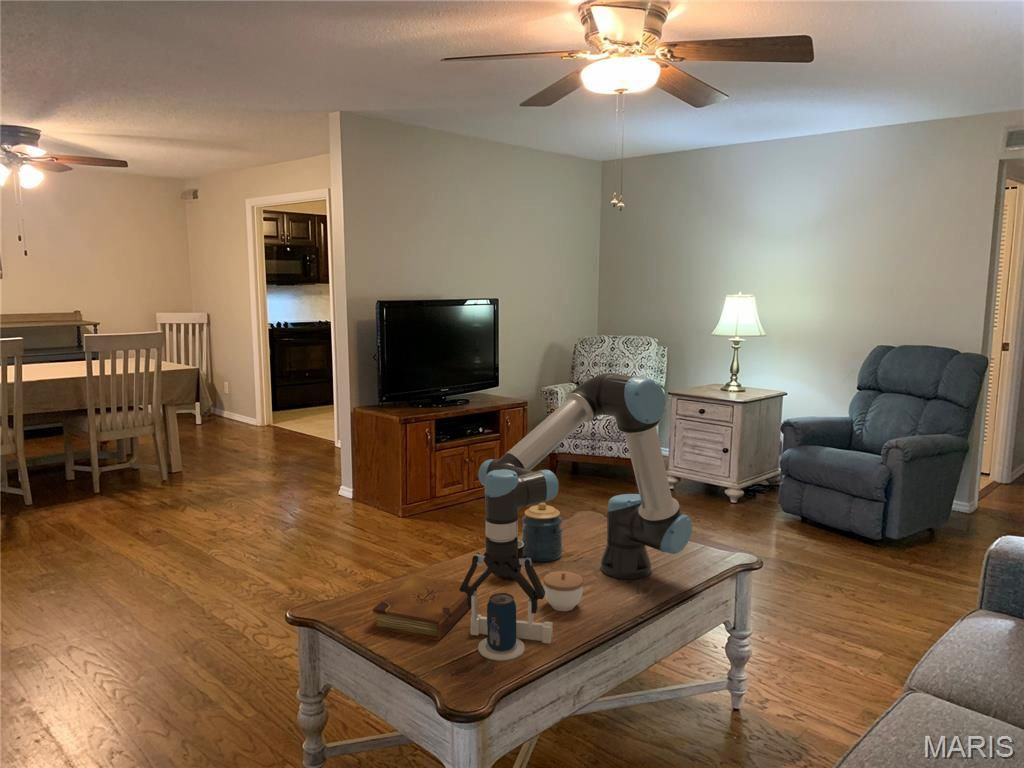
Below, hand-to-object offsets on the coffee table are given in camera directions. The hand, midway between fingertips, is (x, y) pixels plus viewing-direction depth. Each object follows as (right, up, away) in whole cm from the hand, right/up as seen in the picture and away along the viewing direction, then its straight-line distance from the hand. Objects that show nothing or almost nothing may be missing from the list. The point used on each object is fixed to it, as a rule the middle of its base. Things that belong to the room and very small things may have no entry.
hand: (502, 622), depth 170 cm
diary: (-20, -5, +18) cm, 27 cm away
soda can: (0, -6, +1) cm, 6 cm away
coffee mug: (0, -1, +43) cm, 43 cm away
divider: (+2, -6, +7) cm, 9 cm away
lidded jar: (+16, -4, +24) cm, 29 cm away
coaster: (0, -6, +1) cm, 7 cm away
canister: (+12, +1, +60) cm, 61 cm away
